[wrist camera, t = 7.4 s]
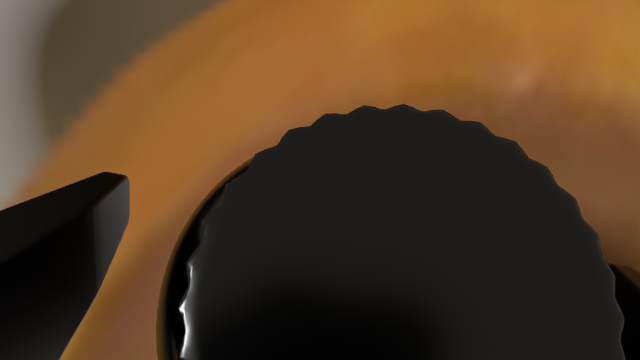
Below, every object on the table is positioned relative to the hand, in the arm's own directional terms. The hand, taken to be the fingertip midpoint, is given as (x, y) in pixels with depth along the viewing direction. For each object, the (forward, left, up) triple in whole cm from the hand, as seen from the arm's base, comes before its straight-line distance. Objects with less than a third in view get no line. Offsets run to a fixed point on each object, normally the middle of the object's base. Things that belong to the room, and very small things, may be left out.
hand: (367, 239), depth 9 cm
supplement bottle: (-1, 0, -8) cm, 8 cm away
